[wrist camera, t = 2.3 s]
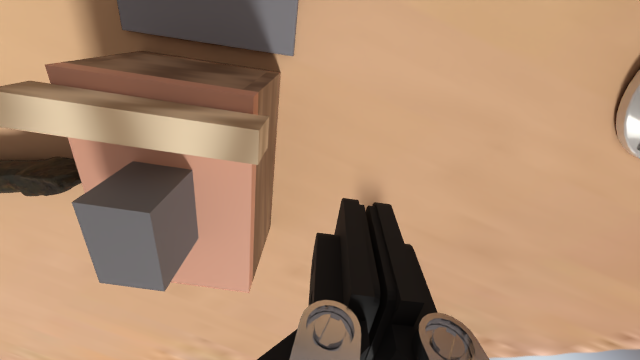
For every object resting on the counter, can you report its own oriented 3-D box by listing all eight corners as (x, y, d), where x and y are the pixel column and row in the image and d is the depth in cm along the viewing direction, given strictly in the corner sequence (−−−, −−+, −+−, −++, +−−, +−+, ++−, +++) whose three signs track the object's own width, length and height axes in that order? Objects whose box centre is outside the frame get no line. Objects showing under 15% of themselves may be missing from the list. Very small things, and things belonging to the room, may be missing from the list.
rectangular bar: (269, 116, 17) (259, 130, 15) (267, 147, 18) (257, 164, 16) (30, 80, 17) (-17, 89, 14) (41, 114, 18) (-1, 127, 15)
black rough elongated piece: (-41, 185, 33) (-94, 209, 29) (-65, 153, 31) (-126, 174, 27) (118, 186, 32) (87, 211, 28) (104, 153, 30) (68, 174, 26)
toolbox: (280, 72, 25) (258, 92, 18) (270, 226, 33) (252, 281, 26) (141, 51, 24) (62, 62, 17) (166, 212, 33) (119, 263, 26)
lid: (262, 88, 18) (224, 122, 12) (255, 273, 27) (230, 350, 20) (75, 60, 18) (-63, 80, 12) (126, 255, 26) (61, 328, 20)
